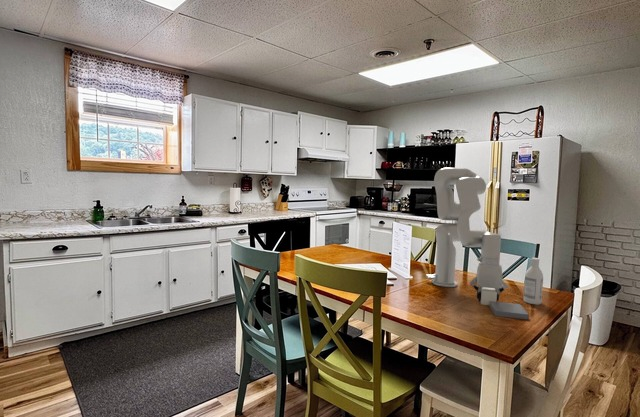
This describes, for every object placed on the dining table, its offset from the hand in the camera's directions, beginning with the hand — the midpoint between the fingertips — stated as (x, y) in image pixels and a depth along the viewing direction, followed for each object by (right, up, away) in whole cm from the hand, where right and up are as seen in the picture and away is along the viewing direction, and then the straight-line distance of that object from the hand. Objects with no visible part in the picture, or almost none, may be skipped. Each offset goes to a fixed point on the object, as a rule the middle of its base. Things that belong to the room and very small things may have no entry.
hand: (487, 300), depth 159 cm
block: (0, -1, 0) cm, 1 cm away
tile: (+3, -2, -11) cm, 12 cm away
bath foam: (+21, -1, +2) cm, 21 cm away
